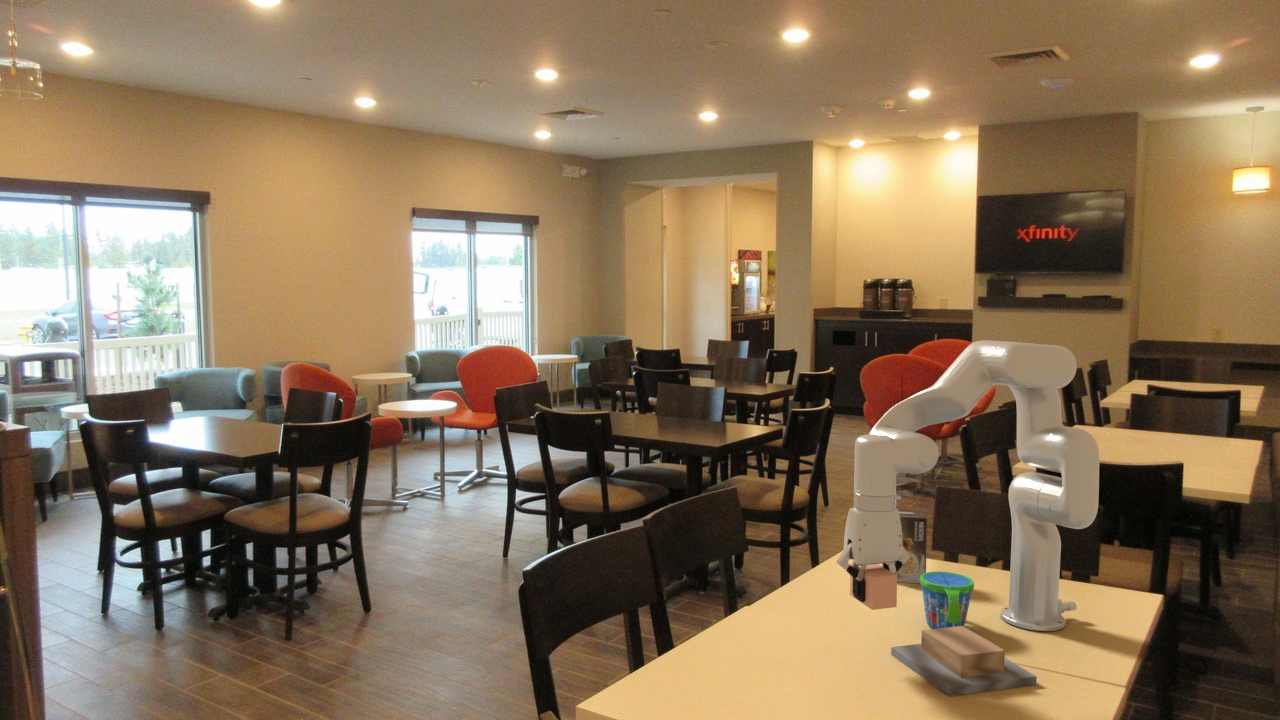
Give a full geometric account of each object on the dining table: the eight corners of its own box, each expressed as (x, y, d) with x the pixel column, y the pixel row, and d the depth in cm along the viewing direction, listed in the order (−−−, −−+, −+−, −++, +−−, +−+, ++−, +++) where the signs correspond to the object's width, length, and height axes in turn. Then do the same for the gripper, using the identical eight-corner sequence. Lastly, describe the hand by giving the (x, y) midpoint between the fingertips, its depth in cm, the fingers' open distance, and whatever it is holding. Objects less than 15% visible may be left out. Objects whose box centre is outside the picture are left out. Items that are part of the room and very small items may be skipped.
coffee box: (922, 576, 217) (924, 511, 215) (926, 584, 210) (928, 518, 209) (883, 573, 218) (885, 509, 217) (886, 582, 212) (888, 516, 211)
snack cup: (916, 610, 193) (918, 565, 192) (967, 615, 190) (969, 569, 190) (920, 637, 178) (922, 588, 177) (976, 643, 175) (978, 593, 174)
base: (971, 645, 174) (972, 618, 174) (1036, 684, 157) (1037, 654, 157) (891, 654, 169) (892, 626, 169) (948, 696, 152) (950, 665, 152)
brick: (873, 592, 169) (873, 561, 169) (896, 606, 162) (897, 575, 161) (850, 595, 168) (850, 564, 168) (872, 609, 160) (872, 577, 160)
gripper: (903, 494, 169) (901, 586, 171) (823, 500, 165) (822, 595, 166) (926, 503, 162) (924, 600, 164) (843, 510, 157) (841, 609, 159)
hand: (872, 596), depth 165 cm, fingers closed on brick, 5 cm apart
